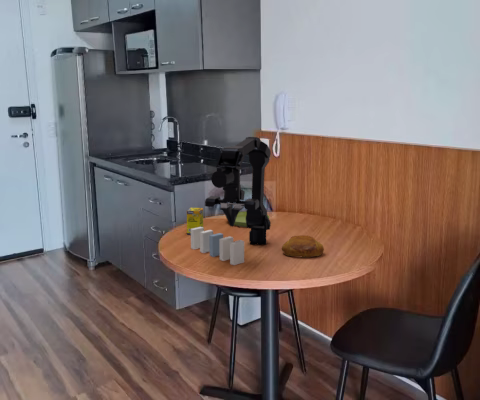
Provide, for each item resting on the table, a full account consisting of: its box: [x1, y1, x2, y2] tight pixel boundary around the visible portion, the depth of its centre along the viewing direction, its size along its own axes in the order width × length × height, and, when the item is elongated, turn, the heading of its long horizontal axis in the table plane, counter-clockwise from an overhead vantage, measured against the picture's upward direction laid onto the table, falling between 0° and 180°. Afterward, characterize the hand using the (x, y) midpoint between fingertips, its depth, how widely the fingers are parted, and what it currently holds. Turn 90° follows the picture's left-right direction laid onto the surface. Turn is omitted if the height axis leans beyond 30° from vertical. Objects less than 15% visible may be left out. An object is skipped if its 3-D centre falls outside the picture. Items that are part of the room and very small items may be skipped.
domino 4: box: [219, 235, 234, 262], centre depth 178 cm, size 2×5×8 cm, turn 131°
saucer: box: [225, 210, 270, 228], centre depth 230 cm, size 21×21×3 cm
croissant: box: [281, 235, 325, 258], centre depth 186 cm, size 14×16×8 cm
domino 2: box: [199, 229, 214, 254], centre depth 187 cm, size 2×5×8 cm, turn 131°
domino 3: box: [209, 232, 224, 258], centre depth 183 cm, size 2×5×8 cm, turn 130°
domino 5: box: [229, 239, 245, 266], centre depth 174 cm, size 2×5×8 cm, turn 131°
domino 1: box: [190, 226, 205, 250], centre depth 192 cm, size 2×5×8 cm, turn 131°
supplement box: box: [186, 207, 204, 236], centre depth 211 cm, size 6×6×11 cm
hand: (231, 226), depth 174 cm, fingers closed
